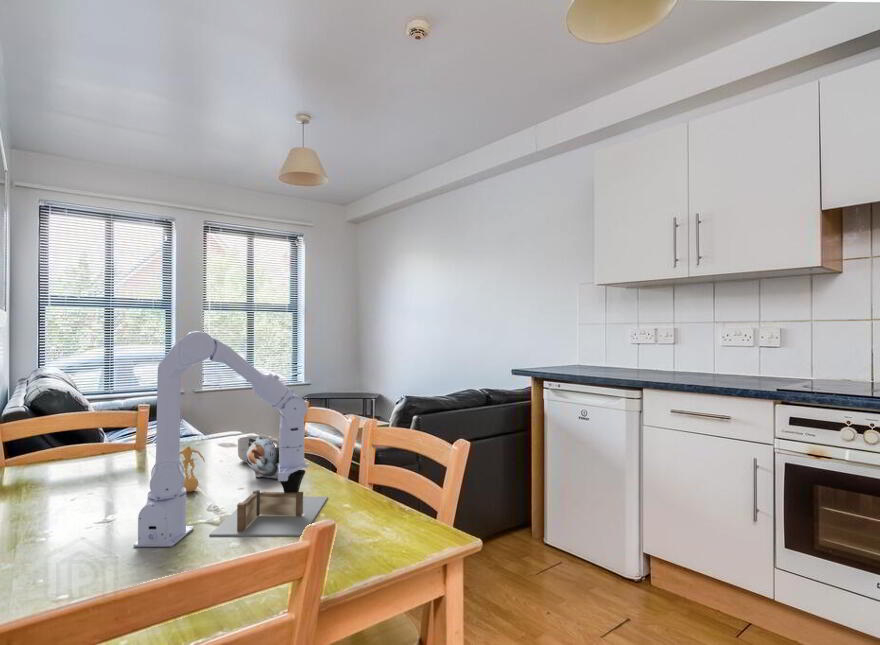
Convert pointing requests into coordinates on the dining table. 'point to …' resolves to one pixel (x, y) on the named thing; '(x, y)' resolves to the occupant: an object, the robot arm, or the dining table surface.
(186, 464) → the figurine
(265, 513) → the post
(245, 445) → the teacup
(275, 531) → the card
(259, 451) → the lucky cat figurine
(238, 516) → the fixed fence section
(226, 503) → the dining table surface
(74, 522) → the dining table surface
